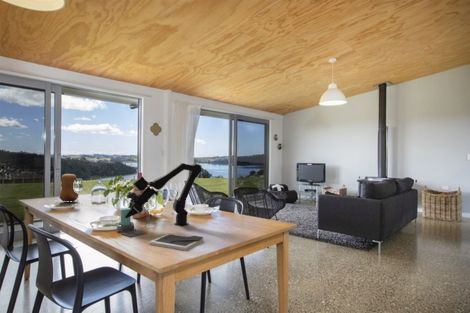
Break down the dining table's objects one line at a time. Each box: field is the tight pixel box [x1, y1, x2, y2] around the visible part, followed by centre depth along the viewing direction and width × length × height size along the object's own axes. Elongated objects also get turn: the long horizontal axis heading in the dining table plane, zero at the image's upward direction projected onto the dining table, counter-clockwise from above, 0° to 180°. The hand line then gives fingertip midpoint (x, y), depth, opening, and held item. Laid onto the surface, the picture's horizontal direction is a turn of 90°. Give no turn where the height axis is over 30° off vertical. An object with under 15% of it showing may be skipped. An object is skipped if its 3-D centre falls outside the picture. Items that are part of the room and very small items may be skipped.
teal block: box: [119, 207, 131, 226], centre depth 161 cm, size 5×5×12 cm
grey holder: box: [116, 221, 135, 233], centre depth 161 cm, size 9×9×3 cm
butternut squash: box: [59, 173, 79, 202], centre depth 245 cm, size 14×13×25 cm
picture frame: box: [149, 232, 204, 252], centre depth 138 cm, size 16×3×21 cm
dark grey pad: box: [120, 229, 146, 238], centre depth 152 cm, size 9×9×1 cm
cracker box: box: [132, 185, 150, 219], centre depth 195 cm, size 14×6×21 cm, turn 168°
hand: (125, 216), depth 161 cm, fingers open, 9 cm apart
